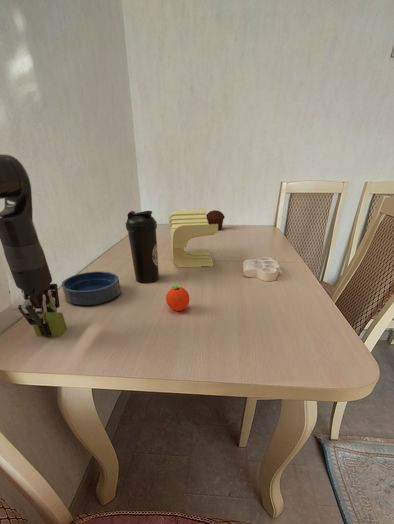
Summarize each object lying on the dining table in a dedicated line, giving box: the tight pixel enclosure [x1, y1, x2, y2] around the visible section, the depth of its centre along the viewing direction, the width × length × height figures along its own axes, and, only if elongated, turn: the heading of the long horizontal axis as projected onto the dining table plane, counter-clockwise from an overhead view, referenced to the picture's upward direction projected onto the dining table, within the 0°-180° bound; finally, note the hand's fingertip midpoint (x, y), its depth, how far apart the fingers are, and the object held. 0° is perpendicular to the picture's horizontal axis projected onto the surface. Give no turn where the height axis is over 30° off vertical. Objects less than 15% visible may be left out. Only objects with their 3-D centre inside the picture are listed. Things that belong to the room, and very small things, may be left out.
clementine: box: [165, 285, 191, 312], centre depth 87 cm, size 8×7×7 cm
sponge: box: [32, 311, 68, 338], centre depth 73 cm, size 6×4×5 cm, turn 87°
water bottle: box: [125, 210, 160, 284], centre depth 103 cm, size 10×10×23 cm
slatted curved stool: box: [168, 209, 219, 268], centre depth 120 cm, size 30×16×18 cm, turn 7°
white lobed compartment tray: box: [242, 256, 284, 282], centre depth 112 cm, size 3×18×15 cm
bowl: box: [60, 271, 122, 306], centre depth 96 cm, size 18×18×5 cm
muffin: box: [206, 210, 225, 232], centre depth 173 cm, size 12×11×10 cm
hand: (51, 330), depth 74 cm, fingers closed on sponge, 4 cm apart
